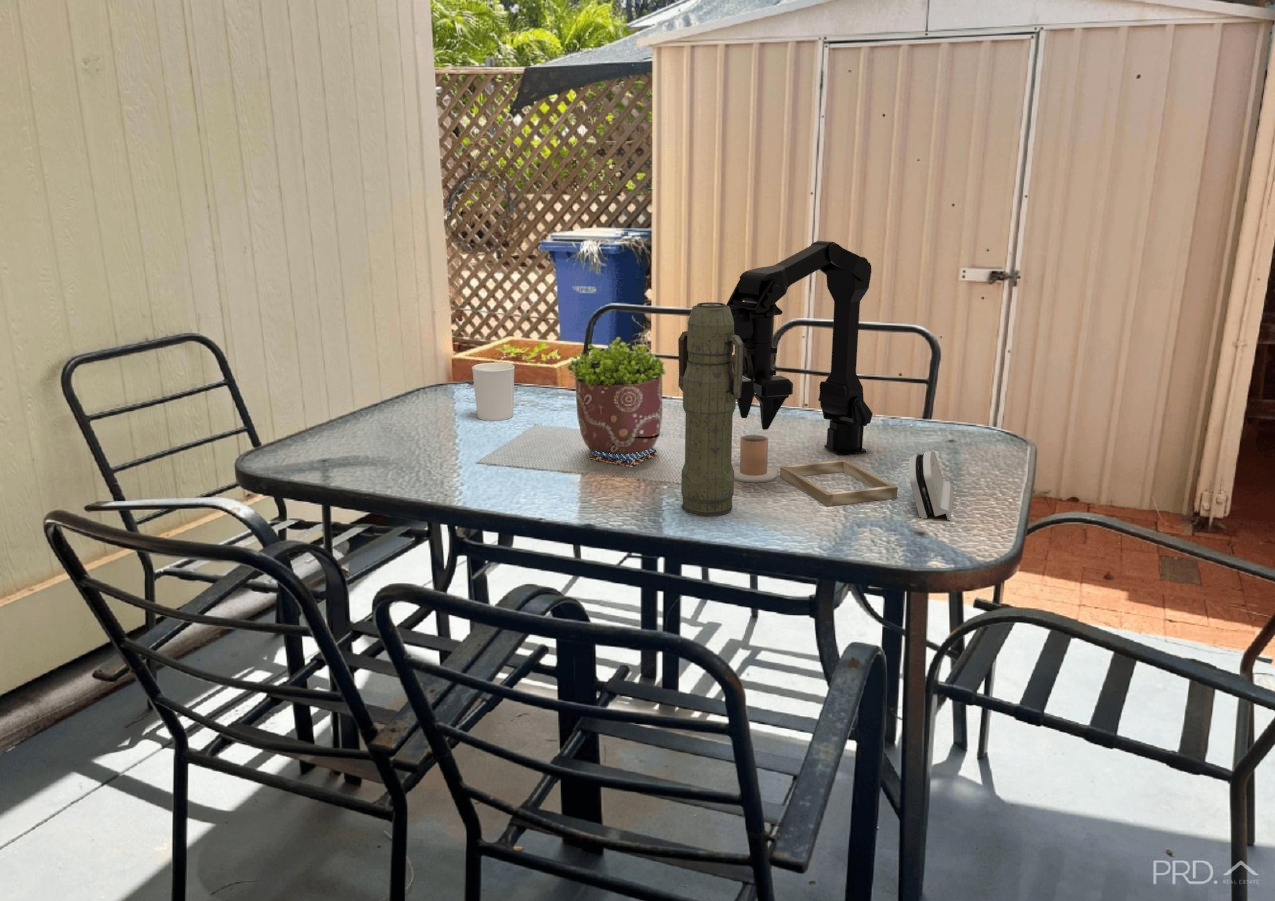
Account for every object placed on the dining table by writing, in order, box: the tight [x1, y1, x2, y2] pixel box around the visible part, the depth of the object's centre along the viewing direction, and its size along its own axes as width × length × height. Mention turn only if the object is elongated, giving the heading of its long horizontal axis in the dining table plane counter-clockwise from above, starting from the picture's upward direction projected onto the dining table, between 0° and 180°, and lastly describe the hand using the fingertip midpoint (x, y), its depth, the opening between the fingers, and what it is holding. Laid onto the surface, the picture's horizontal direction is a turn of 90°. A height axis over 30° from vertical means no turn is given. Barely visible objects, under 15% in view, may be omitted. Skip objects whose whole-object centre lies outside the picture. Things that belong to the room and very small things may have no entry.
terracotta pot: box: [739, 434, 769, 476], centre depth 188 cm, size 5×5×6 cm
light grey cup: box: [471, 362, 516, 422], centre depth 232 cm, size 10×10×12 cm
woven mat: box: [590, 447, 658, 468], centre depth 201 cm, size 10×11×2 cm
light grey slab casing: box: [908, 451, 954, 520], centre depth 172 cm, size 17×5×10 cm, turn 162°
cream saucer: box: [732, 465, 778, 484], centre depth 189 cm, size 9×9×1 cm
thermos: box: [677, 301, 743, 517], centre depth 166 cm, size 9×12×35 cm
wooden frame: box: [779, 459, 899, 507], centre depth 182 cm, size 14×18×2 cm
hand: (754, 423), depth 186 cm, fingers open, 9 cm apart
